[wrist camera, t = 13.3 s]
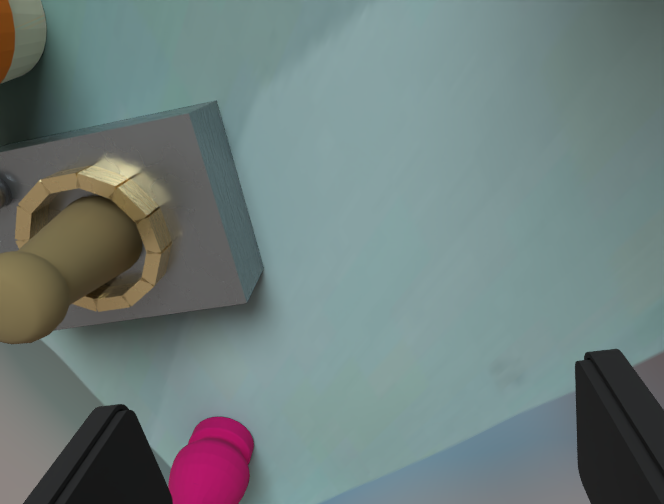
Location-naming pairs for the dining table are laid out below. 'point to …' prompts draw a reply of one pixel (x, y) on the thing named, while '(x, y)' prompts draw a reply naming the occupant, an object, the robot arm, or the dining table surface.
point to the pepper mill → (213, 464)
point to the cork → (64, 266)
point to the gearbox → (143, 209)
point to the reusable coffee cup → (20, 37)
